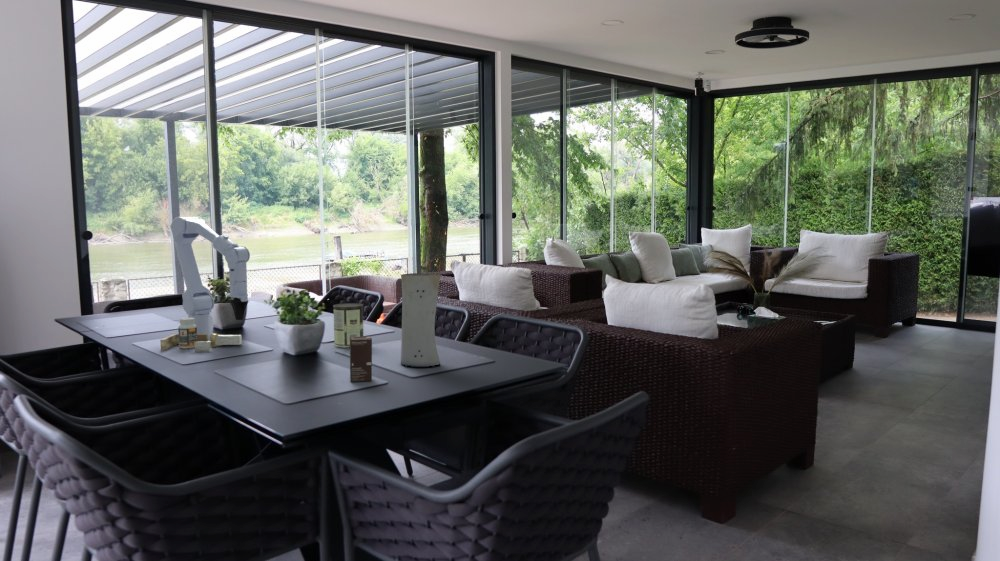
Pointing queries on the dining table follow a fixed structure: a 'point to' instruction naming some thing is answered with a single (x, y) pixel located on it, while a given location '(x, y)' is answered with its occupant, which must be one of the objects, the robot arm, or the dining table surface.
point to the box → (360, 359)
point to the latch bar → (225, 339)
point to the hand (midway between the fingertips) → (239, 319)
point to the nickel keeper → (202, 346)
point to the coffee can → (347, 323)
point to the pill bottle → (187, 333)
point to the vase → (419, 319)
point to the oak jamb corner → (174, 340)
